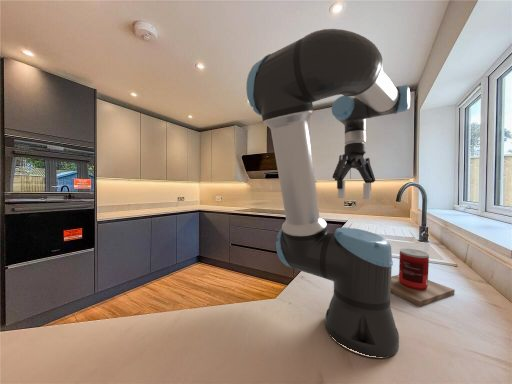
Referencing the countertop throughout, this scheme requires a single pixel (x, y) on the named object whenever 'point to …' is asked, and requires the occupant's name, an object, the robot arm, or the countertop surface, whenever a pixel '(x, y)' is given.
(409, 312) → the countertop surface
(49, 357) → the countertop surface
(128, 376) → the countertop surface
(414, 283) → the canned food
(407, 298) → the walnut board
